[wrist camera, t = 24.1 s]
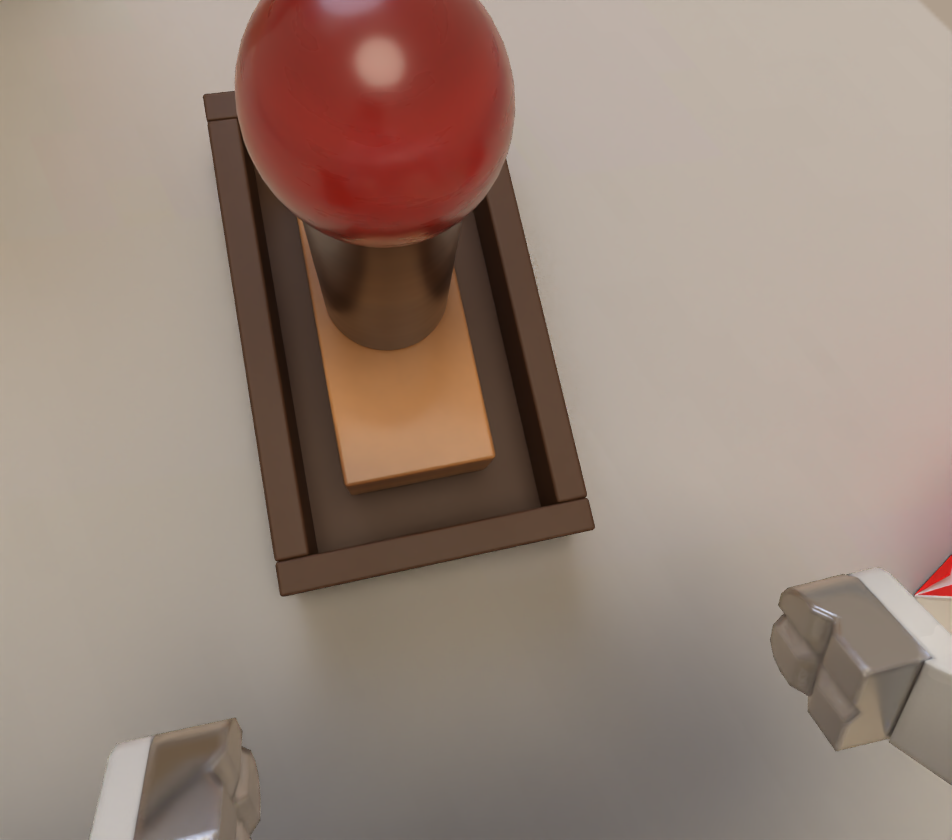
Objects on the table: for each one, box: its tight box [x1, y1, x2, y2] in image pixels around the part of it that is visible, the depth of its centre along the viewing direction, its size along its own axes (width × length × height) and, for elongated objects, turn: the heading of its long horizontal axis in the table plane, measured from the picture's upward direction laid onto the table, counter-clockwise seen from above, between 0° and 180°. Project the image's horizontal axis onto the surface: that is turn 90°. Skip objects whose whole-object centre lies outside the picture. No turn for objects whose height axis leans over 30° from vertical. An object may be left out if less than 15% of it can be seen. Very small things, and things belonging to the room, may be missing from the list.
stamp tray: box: [203, 91, 595, 597], centre depth 19 cm, size 13×8×2 cm, turn 12°
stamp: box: [235, 0, 515, 495], centre depth 14 cm, size 9×4×12 cm, turn 12°
